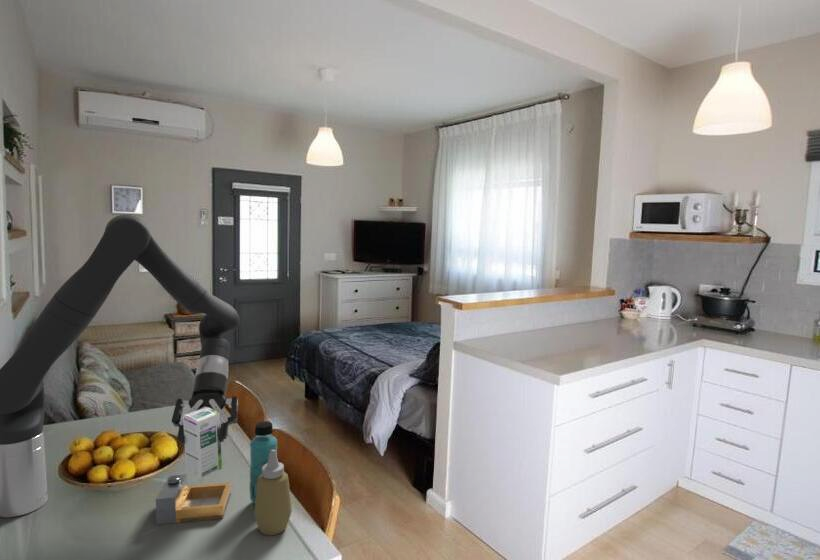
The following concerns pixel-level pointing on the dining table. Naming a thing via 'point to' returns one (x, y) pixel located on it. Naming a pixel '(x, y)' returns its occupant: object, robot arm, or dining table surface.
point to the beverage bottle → (260, 453)
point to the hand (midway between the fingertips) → (201, 442)
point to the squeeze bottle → (272, 497)
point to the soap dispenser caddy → (191, 501)
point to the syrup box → (202, 442)
